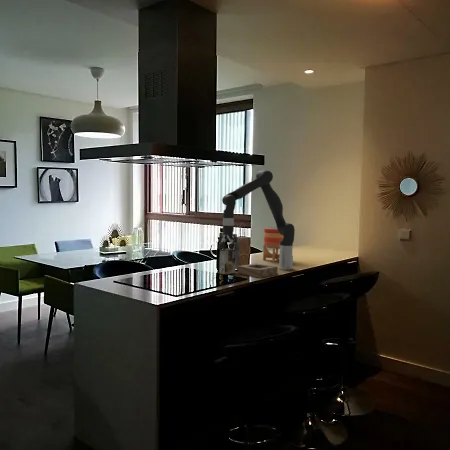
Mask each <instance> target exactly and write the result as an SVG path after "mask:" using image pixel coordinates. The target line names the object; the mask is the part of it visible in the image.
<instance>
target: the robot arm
mask: <svg viewBox="0 0 450 450" xmlns="http://www.w3.org/2000/svg"><path fill="white" fill-rule="evenodd" d="M273 178H274V175H273V173H272V171H270V170H268V169H267V170H263V169H262V170H258V171H257V172H256V175H255V179H253V180H251V181H249V182H247V183H244V184H243V185H240V186H239V187H238V188H236V189H235V190H233V191H231V192H229V193H227V194H225V195H224V196H223V197H222V199H221V201H222V204H223V205H224V206H225V209H224V210H223V214H222V215H223V217H222V232H219V237H218V241H219V242H220V243H221V244H220V245H221V249H226V248H225V244H226V240H228V241H229V242H230V249H234V250H235V244H237V243H238V234H237V233H234V230H235V219H234V216H235V209H236V204H237V201H238V200H242V199H243V198H244V197H246V196H247V195H249V194H250V193H252V192H254V191H255V190H257V189H258V188H261V191H262V193H263V195H264V197H265V200H266V202H267V205H268V208H269V210H270V212H271V214H272V217H273V219H274V222H275V225H276V227H277V229H278V231H279V233H280V234H281V235H284V237H283V240H282V241H280V249H279V254H280V255H279V259H278V261H279V263H278V269H279V270H282V271H283V270H285V271H288V270H289V271H290V269H291V270H292V268H293V267H294V266H293V264H294V263H293V262H294V255H293V248H294V247H293V246H294V245H293V244H294V241H295V231H296V230H295V226H294V224H293V223H289V222H286V219H285V218H284V214H283V213H284V206H283V203H282V200H281V198H280V196H279V194H277V192H276V191H275V190H274V189H273V187H272V185H271V182H272V181H273Z"/></svg>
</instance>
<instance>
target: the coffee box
mask: <svg viewBox="0 0 450 450" xmlns="http://www.w3.org/2000/svg"><path fill="white" fill-rule="evenodd" d="M235 273H236V249H235V248H234V249H231V248H221V249H220V248H219V274H223V275H228V274H235Z"/></svg>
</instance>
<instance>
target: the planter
mask: <svg viewBox="0 0 450 450" xmlns="http://www.w3.org/2000/svg"><path fill="white" fill-rule="evenodd" d="M263 228H264V229H263V234H264V236H263V244H262V245H263V247H262V248H263V250H262V251H263V252H262V253H263V255H262V260H263V261H267V259H272V263H275V262H276V261H275V260H279V255H280V253H279V250H280V241H282V240H283V237H284V235H281V234H280V233H279V231H278V229H277V226H265V227H263ZM268 249H272V253H271V252H270V251H269V250H268Z"/></svg>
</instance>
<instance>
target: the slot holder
mask: <svg viewBox="0 0 450 450" xmlns="http://www.w3.org/2000/svg"><path fill="white" fill-rule="evenodd" d="M278 269H279V266H275V265H267V264H263V263H262V264H261V263H251V264H244V265H238V266H237V274H238V275H243V276H249V277H253V278H254V277H255V278H260V279H261V278H265V277H270V276H275V275H278Z"/></svg>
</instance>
